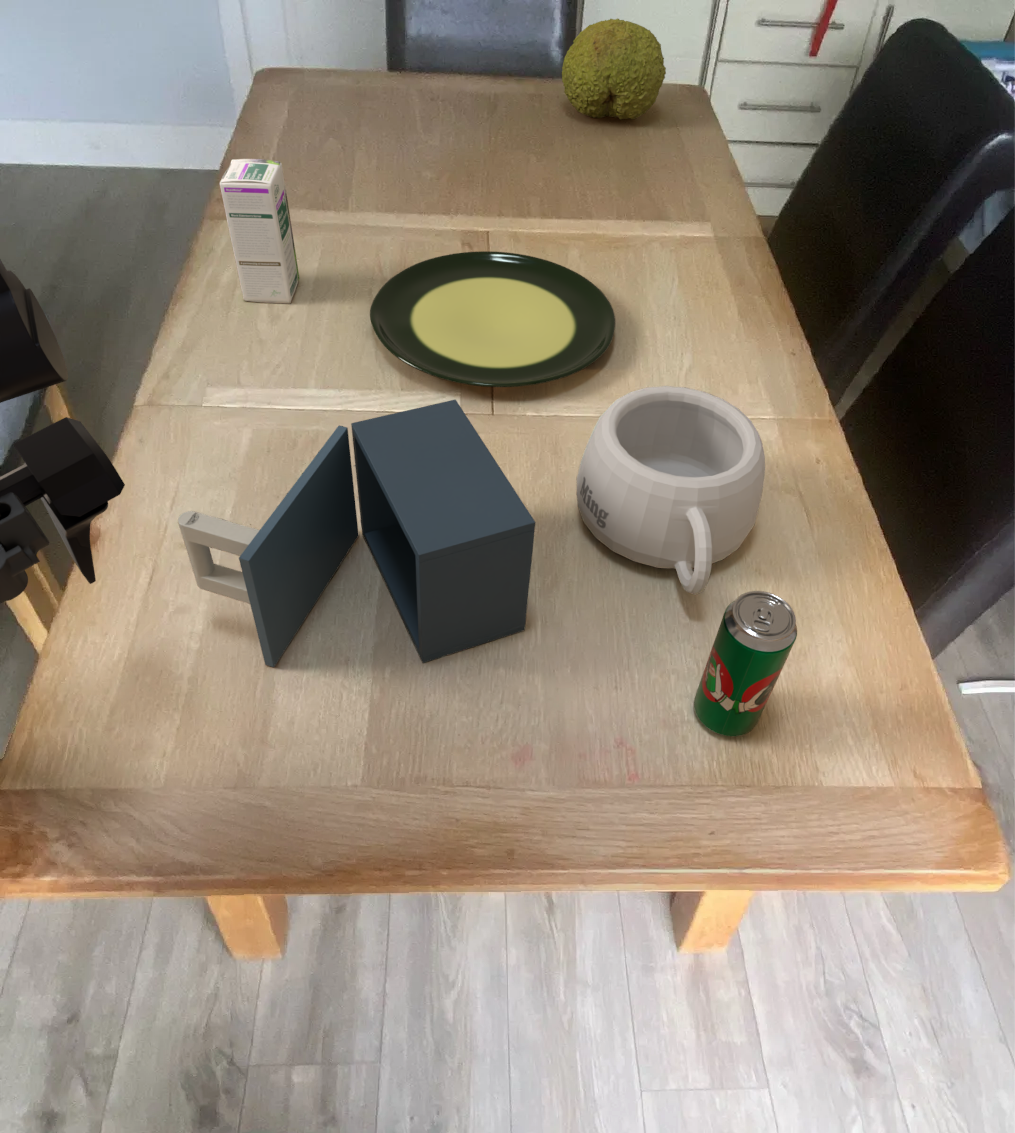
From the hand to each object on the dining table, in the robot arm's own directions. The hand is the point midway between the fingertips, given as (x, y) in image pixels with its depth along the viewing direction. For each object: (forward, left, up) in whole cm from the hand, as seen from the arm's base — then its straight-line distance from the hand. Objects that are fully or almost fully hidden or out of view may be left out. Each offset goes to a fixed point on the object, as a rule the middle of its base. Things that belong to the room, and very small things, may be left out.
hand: (23, 618), depth 58 cm
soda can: (+43, +22, -13) cm, 50 cm away
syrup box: (-22, +57, -13) cm, 62 cm away
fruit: (-5, +129, -13) cm, 130 cm away
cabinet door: (+6, +18, -12) cm, 22 cm away
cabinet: (+17, +24, -12) cm, 32 cm away
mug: (+33, +39, -13) cm, 53 cm away
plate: (+5, +62, -13) cm, 63 cm away
